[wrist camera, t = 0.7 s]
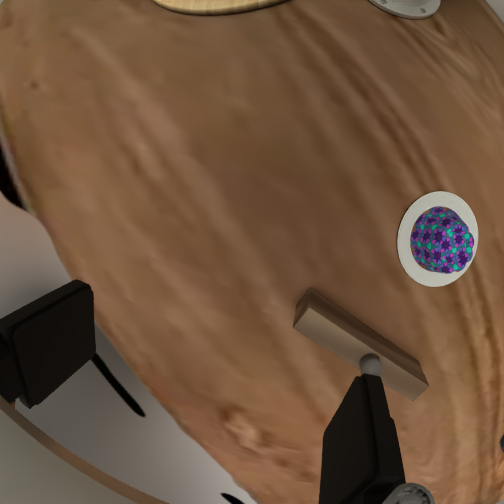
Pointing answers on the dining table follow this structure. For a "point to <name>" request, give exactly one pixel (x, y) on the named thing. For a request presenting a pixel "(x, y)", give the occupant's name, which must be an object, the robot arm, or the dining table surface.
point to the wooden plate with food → (214, 6)
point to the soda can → (502, 444)
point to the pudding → (438, 239)
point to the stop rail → (358, 344)
